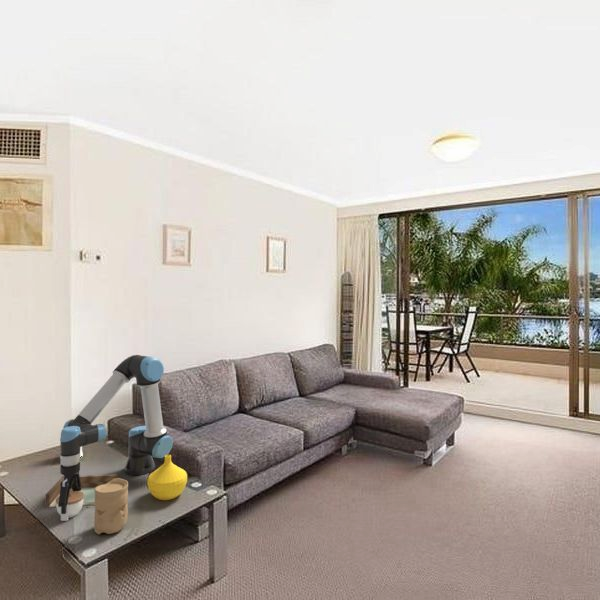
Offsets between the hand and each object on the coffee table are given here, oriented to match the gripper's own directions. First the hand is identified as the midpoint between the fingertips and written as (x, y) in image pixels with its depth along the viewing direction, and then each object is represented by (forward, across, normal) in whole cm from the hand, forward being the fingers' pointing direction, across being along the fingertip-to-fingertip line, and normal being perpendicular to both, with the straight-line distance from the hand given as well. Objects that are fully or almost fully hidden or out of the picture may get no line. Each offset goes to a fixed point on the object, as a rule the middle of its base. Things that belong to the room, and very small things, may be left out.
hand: (70, 513), depth 183 cm
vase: (+1, -13, +39) cm, 41 cm away
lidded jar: (+1, 0, 0) cm, 1 cm away
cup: (+1, -65, -22) cm, 69 cm away
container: (+1, +13, +21) cm, 25 cm away
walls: (+1, -16, 0) cm, 16 cm away
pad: (+1, -15, +4) cm, 16 cm away
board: (+1, -16, 0) cm, 16 cm away
